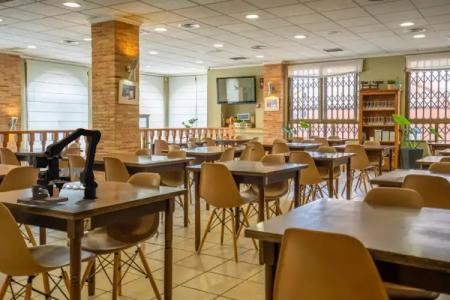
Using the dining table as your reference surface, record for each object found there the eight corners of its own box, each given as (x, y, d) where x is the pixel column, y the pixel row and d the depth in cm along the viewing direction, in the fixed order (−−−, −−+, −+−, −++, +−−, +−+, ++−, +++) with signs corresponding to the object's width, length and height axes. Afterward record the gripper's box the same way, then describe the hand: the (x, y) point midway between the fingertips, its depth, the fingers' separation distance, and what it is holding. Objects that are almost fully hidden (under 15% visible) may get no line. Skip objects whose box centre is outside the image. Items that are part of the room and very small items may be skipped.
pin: (29, 195, 268) (29, 186, 268) (35, 194, 272) (35, 185, 271) (53, 197, 259) (53, 188, 259) (59, 196, 263) (58, 187, 263)
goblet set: (93, 187, 322) (93, 167, 321) (87, 188, 316) (87, 168, 315) (59, 185, 332) (59, 165, 331) (53, 186, 326) (53, 166, 326)
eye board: (16, 201, 263) (16, 185, 263) (43, 197, 279) (43, 181, 278) (42, 205, 254) (41, 188, 253) (68, 200, 269) (68, 184, 269)
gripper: (56, 165, 273) (57, 192, 274) (29, 168, 257) (29, 197, 258) (70, 166, 268) (71, 194, 269) (43, 169, 251) (44, 199, 252)
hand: (54, 196), depth 262 cm, fingers closed on pin, 4 cm apart
